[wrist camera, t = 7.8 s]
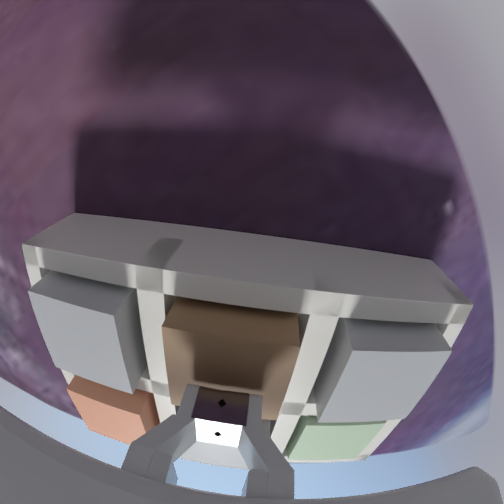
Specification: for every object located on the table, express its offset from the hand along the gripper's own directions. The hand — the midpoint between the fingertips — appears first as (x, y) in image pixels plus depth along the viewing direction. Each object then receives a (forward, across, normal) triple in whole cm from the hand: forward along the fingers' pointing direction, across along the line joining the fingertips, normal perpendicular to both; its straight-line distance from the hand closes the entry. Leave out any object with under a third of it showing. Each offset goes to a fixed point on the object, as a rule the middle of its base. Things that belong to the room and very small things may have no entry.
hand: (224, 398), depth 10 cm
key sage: (+5, -7, +7) cm, 11 cm away
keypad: (+7, 0, +3) cm, 8 cm away
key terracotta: (+4, +7, +7) cm, 10 cm away
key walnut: (+4, 0, 0) cm, 4 cm away
